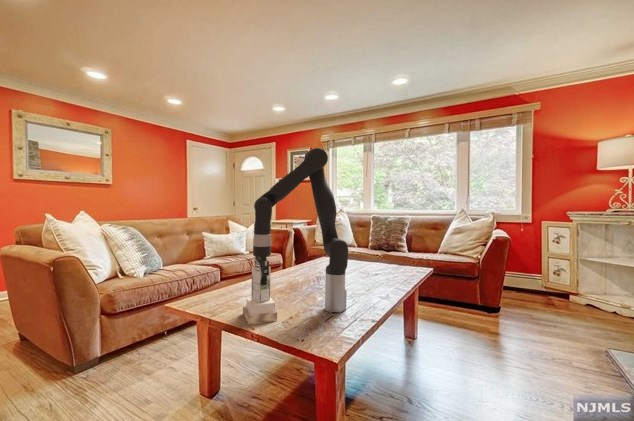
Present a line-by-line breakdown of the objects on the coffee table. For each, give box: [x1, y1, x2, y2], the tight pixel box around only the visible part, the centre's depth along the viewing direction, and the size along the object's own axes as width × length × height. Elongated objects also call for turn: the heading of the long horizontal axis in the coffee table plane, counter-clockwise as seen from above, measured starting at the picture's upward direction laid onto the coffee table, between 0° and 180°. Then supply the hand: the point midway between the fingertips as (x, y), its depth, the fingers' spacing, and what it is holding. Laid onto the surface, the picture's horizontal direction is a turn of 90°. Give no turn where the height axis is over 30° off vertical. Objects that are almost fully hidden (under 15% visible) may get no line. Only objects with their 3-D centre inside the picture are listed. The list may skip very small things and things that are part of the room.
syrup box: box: [251, 265, 272, 303], centre depth 120 cm, size 6×6×14 cm
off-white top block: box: [245, 296, 276, 315], centre depth 121 cm, size 10×10×4 cm
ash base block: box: [242, 305, 278, 326], centre depth 121 cm, size 12×12×4 cm
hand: (261, 282), depth 121 cm, fingers open, 8 cm apart
